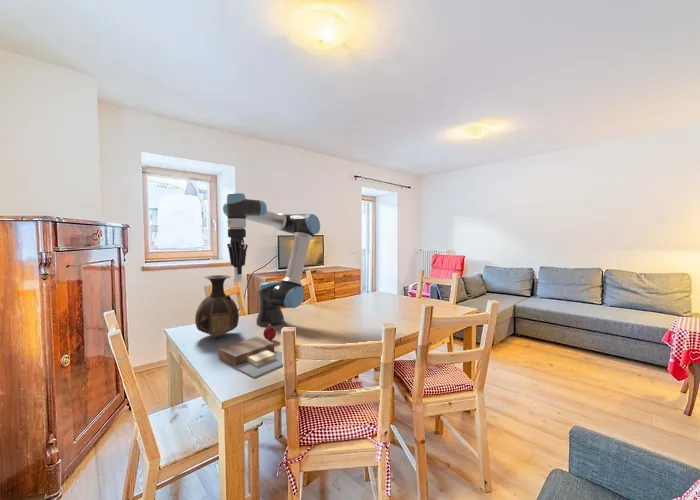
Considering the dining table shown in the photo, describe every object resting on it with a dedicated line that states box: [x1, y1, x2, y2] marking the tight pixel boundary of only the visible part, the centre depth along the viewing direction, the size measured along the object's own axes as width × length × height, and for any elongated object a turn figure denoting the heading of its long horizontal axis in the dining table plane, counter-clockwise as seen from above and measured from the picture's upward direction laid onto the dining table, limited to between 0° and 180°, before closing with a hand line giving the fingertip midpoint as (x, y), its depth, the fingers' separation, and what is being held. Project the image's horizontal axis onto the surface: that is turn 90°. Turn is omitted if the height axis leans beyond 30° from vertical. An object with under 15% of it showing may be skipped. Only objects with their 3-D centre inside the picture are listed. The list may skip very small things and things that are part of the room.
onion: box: [263, 324, 277, 342], centre depth 144 cm, size 6×6×8 cm
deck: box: [217, 336, 275, 367], centre depth 128 cm, size 18×13×4 cm
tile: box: [247, 350, 276, 366], centre depth 122 cm, size 9×7×2 cm
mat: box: [233, 350, 284, 379], centre depth 120 cm, size 20×13×1 cm, turn 141°
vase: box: [194, 274, 240, 338], centre depth 150 cm, size 23×19×30 cm
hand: (238, 281), depth 137 cm, fingers closed
